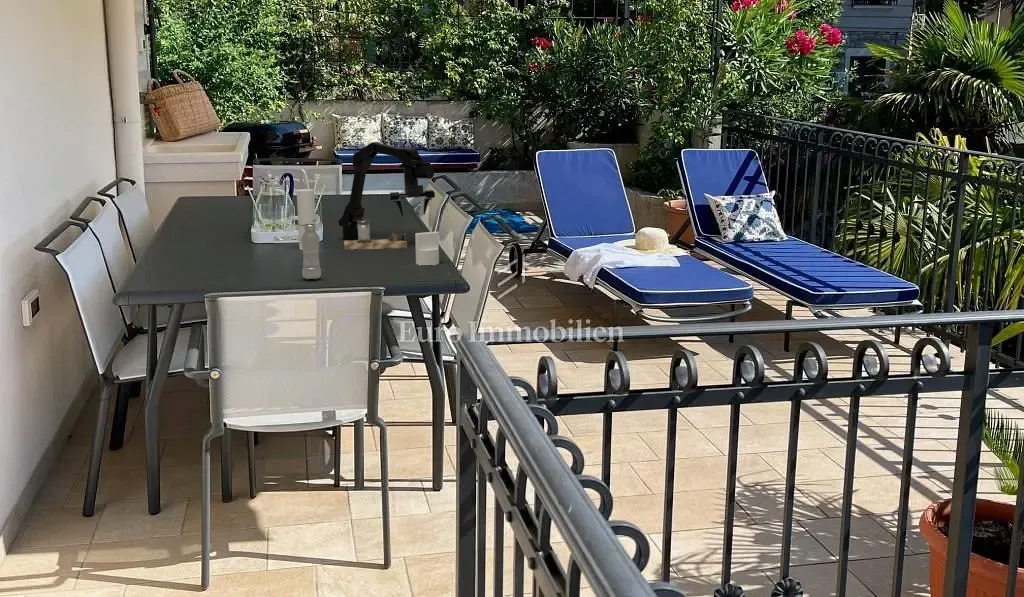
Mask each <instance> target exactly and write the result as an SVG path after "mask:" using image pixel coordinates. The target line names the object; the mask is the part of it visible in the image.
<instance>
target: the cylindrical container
mask: <svg viewBox="0 0 1024 597" xmlns="http://www.w3.org/2000/svg"><path fill="white" fill-rule="evenodd" d="M296 204H297V205H296V206H297V208H296V209H297V225H298V226H297V227H298V228H297V229H298V247H299V249H300V250H303V248H302V242H301V238H302V236H303V234H304V232H305V230H304V225H305V224H315V232H316V233H317V221H316V198H315V189H311V188H302V189H297V190H296ZM300 250H299V251H300Z"/></svg>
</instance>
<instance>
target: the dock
mask: <svg viewBox="0 0 1024 597" xmlns="http://www.w3.org/2000/svg"><path fill="white" fill-rule="evenodd" d="M391 235H393V240H390V239H387V238H385V239H370V243H358V239H357V240H343V243H344V244H343V245H344V247H343V248H344V251H350V250H352V251H355V250H354V249H357V250H378V249H379V250H380V249H381V250H384V249H385V248H387V249H408V241H407V240H406V241H404V240H397V235H398V234H397V232H391Z"/></svg>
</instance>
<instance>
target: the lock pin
mask: <svg viewBox="0 0 1024 597" xmlns="http://www.w3.org/2000/svg"><path fill="white" fill-rule="evenodd" d="M388 236H389V239H390V240H393V235H392V234H389V235H388ZM397 240H404V241H407V233H403V234H397Z"/></svg>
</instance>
